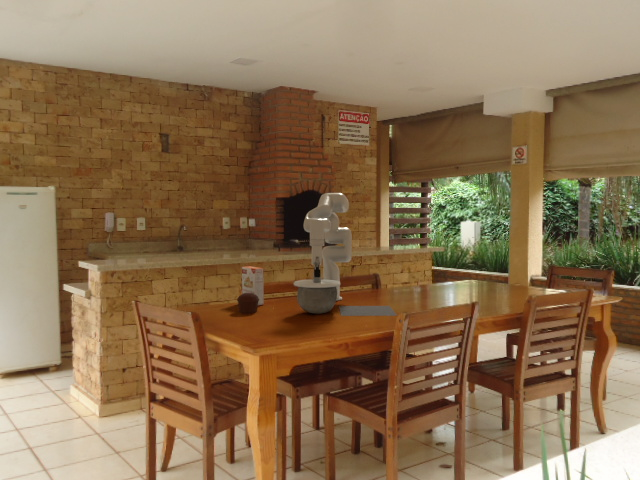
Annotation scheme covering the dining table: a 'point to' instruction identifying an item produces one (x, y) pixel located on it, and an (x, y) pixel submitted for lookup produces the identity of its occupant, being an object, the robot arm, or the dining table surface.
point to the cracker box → (253, 282)
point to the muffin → (248, 303)
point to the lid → (317, 283)
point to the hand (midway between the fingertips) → (317, 276)
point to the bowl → (317, 299)
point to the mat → (366, 311)
